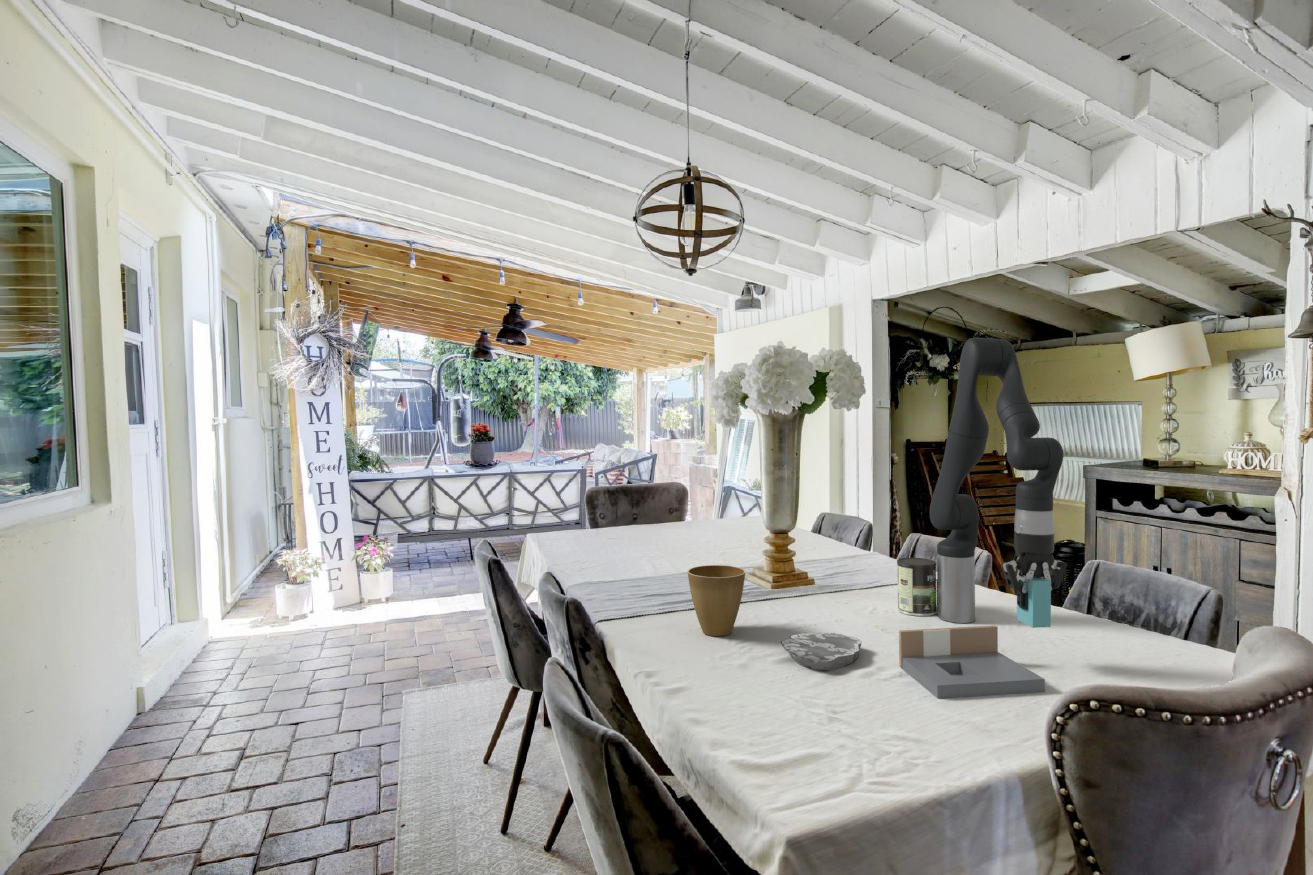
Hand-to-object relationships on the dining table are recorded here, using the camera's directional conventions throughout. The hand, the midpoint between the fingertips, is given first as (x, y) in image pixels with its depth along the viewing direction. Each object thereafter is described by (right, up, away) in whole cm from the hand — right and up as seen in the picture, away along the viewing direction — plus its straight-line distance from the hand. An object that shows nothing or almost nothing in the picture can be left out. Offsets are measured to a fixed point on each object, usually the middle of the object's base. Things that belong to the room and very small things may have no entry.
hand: (1033, 607), depth 144 cm
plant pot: (-66, -13, +28) cm, 73 cm away
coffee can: (-9, -12, +41) cm, 44 cm away
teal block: (0, -3, 0) cm, 3 cm away
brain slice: (-44, -14, +8) cm, 47 cm away
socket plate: (-17, -13, -7) cm, 22 cm away
